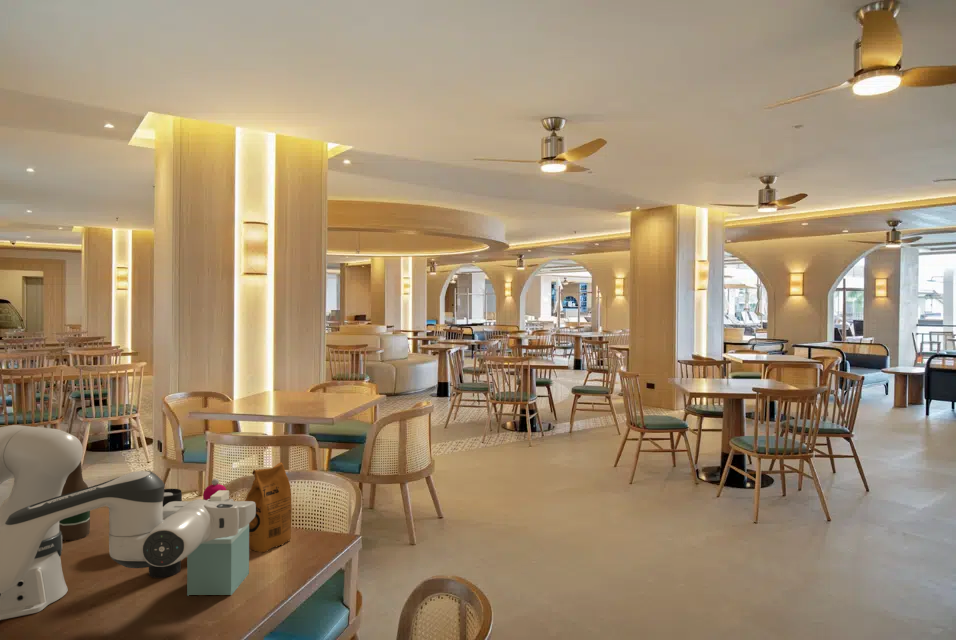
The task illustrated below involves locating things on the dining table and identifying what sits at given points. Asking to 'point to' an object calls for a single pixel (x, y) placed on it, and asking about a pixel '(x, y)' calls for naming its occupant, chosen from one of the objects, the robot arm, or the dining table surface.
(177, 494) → the travel mug
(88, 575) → the dining table surface
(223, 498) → the white rectangular block
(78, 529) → the beer bottle
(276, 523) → the coffee package
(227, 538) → the box
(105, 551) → the dining table surface
